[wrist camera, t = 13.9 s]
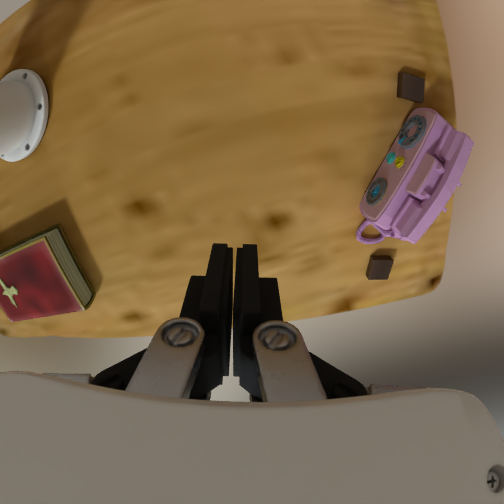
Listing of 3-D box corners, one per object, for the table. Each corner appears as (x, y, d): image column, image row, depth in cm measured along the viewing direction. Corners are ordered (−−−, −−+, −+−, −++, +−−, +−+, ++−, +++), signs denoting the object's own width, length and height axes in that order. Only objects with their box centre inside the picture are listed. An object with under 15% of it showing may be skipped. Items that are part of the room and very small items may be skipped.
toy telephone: (408, 102, 26) (462, 109, 17) (444, 133, 27) (498, 151, 19) (335, 228, 34) (363, 275, 25) (375, 248, 35) (408, 295, 26)
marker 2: (396, 96, 26) (401, 97, 25) (397, 72, 24) (402, 72, 23) (417, 102, 26) (423, 103, 25) (419, 79, 24) (424, 79, 23)
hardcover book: (97, 295, 38) (85, 313, 35) (21, 310, 41) (10, 324, 37) (59, 223, 33) (43, 237, 29) (-11, 256, 35) (-24, 269, 31)
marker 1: (365, 274, 37) (368, 279, 36) (370, 255, 35) (373, 259, 34) (384, 274, 37) (387, 279, 36) (390, 255, 36) (393, 260, 34)
